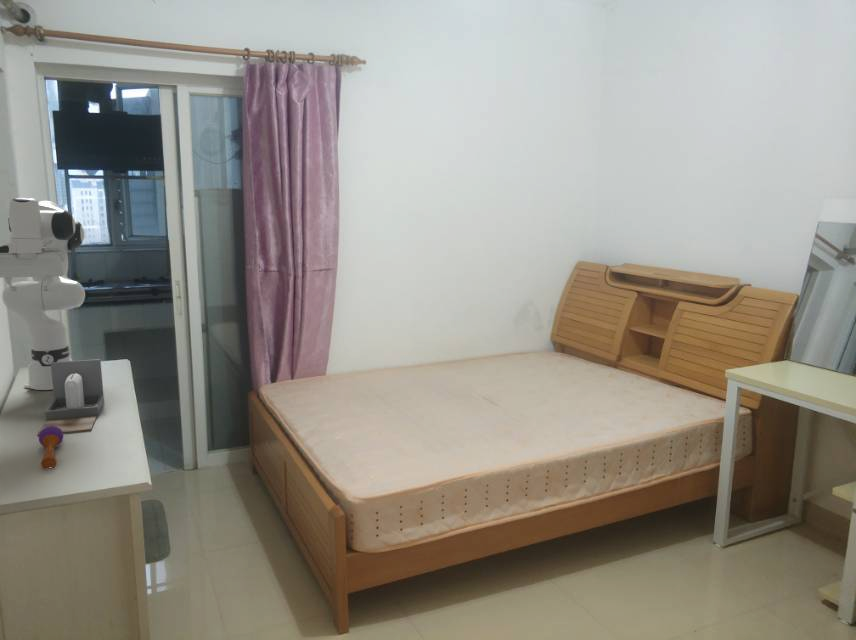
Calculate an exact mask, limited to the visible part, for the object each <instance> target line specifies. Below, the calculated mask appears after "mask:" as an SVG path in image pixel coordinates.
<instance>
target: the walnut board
mask: <svg viewBox="0 0 856 640" xmlns="http://www.w3.org/2000/svg"><path fill="white" fill-rule="evenodd" d="M97 418H98V416H97V415H96V416H86V417H75V418H65V419H54V420H46V419H45V421H44V423H43V424H42V426H41V428H40V429H39V431H38V432H37V434H36V436H37V437H39V434H40V432H41V431H42V430H43V429H44V428H46V427H49V426H55V427H58V428H60V429H61V430H62V432H63V435H64V433H66V434H75V433H74V432H76V433H82V432H83V433H85V432H92V430H93V427H94V425H95V423H96V420H97Z"/></svg>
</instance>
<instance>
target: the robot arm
mask: <svg viewBox="0 0 856 640" xmlns="http://www.w3.org/2000/svg"><path fill="white" fill-rule="evenodd" d="M7 220H8V230H9V232H10V233H11V234H10V242H9V243H5V244H3V245H0V278H4V281H5V282H6V286H5V287H4V289H3V290H2V291H3V292H2V295H1V296H2V297H1V298H2V302H3V304H4V306H5V307H6V308H8V309H9V310H10V311H11V312H14V313H15V314H17V315H18V316H19V317H20V318H21V319H22V320H23V321H24V322H25V324H26V326H27V329H28V331H29V334H30V341H31V350H30V351H31V352H30V355H31V359H32V361H30V363H29V364H28V365H27V373H28V374H27V375H28V382H27V383H25V384H24V385H23V387H24V388H25V389H32V390H35V391H49V390H52V391H53V382H52V372H51V362H65V361H73V359H72V358H71V357H70V355H71V354H70V348H69V345H68V341H67V332H66V327H65V325H64V324H63V323H62V322H60V321H59V320H56V319H54V318H52V317H51V318H50V317H49V316H48V315H47V314H46V312H47V311H48V312H49V311H65V310H71V309H75V308H80V307H81V306H82V305H83V304H84V302H85V299H86V292H85V288H84V286H83V285H82V283H80V282H79V281H77V280H73V279H71V278H70V277H68V271H69V259H68V252H69V251H71V252H72V253H73V252H75V249H76V250H77V249H78V248H79V247H80V246H81V245H82V244H83V242H84V240H85V234H86V233H85V230H84V227H83V225H82V223H80V221H77V220H75V219H74V217H73V215H72V213H70V211H68V210H67V209H66V210H64V209H62V208H61V207H60V205H58V204H57V203H56V202H54V201H51V200H39V201H38V200H37V199H35V198H32V197H31V198H30V197H15V198H12V199H10V202H9V211H8V218H7ZM13 278H32V280H21V281H15V282H12V281H13Z"/></svg>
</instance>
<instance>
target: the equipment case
mask: <svg viewBox="0 0 856 640" xmlns="http://www.w3.org/2000/svg"><path fill="white" fill-rule="evenodd" d="M101 360H102V359H101V358H96V359H83V360H81V359H80V360H72V361H65V362H51V372H52V382H53V389H52V391H53V400H52V401H51V402H50V403H49V405H48V407H47V408H46V410H45V412H44V413H45V414H44V415H45V421H46V420H54V419H65V418H75V417H86V416H96V415H97V417H99V416H100V413H101V411H102V408H103V406H104V403H105V395H104V385H103V384H104V383H103V372H102V361H101ZM75 373H77V374H79V375H80V376H81V377H82V383H83V394H84V404H85V406H86V405H87V406H86V407H85V406H84V408H73V409H67V407H66V396H65V381H66V379H67V377H68V376H69V375H71V374H75ZM88 405H89V406H88ZM90 405H95V406H90ZM64 406H65V407H64ZM58 408H63V409H58Z"/></svg>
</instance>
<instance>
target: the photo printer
mask: <svg viewBox="0 0 856 640" xmlns="http://www.w3.org/2000/svg"><path fill="white" fill-rule="evenodd" d="M65 396H66V406H67V407H66V409H73V408H84V407H85V406H86V405H85V404H84V394H83V383H82V377H81V376H80V375H79V374H77V373H75V374H71V375H69V376H68V377H67V379H66V381H65Z"/></svg>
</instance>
